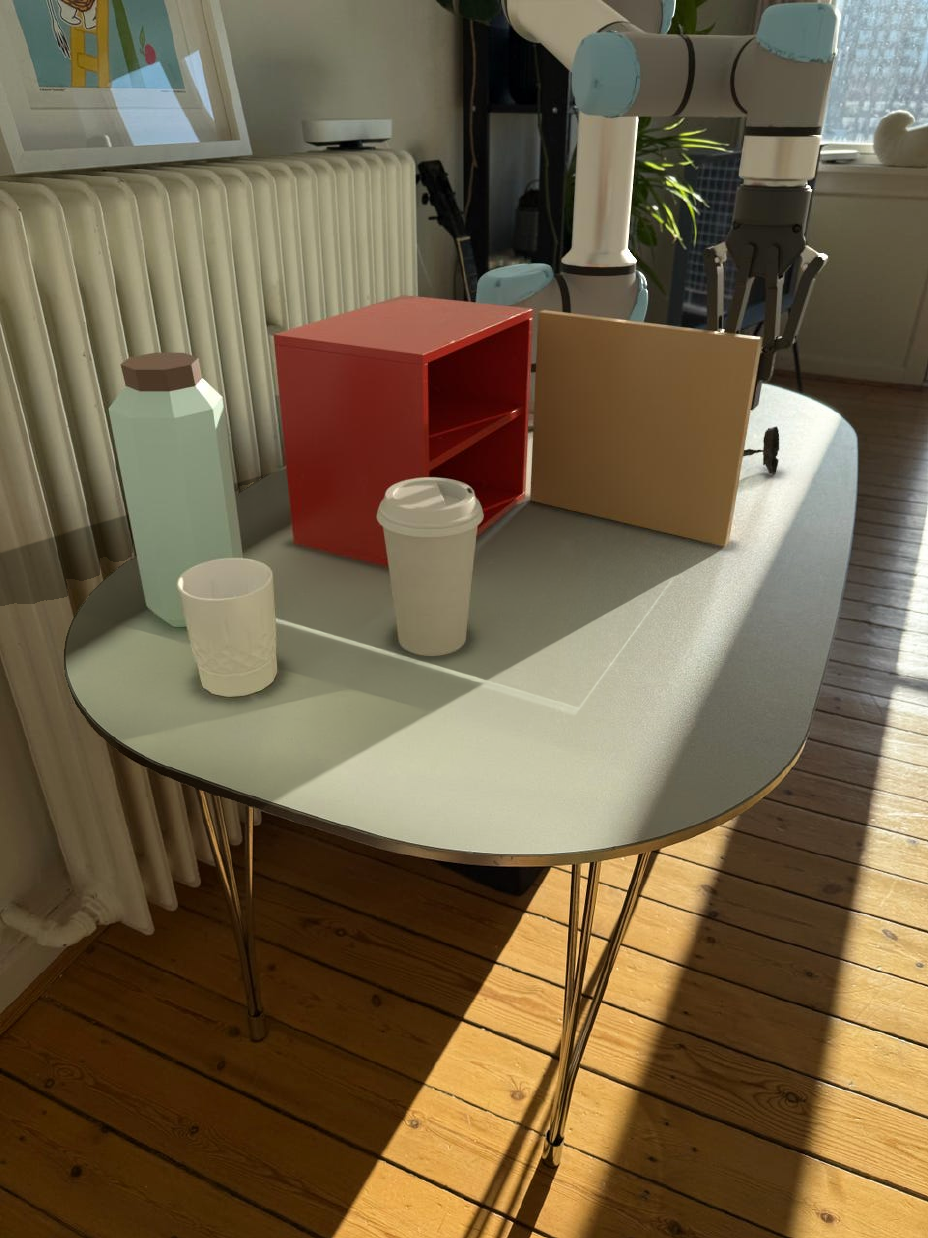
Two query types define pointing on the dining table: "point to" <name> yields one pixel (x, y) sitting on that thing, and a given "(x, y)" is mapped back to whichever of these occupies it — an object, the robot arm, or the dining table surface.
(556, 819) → the dining table surface
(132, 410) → the water bottle
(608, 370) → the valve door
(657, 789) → the dining table surface
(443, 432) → the cabinet
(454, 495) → the coffee cup
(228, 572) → the white cup
